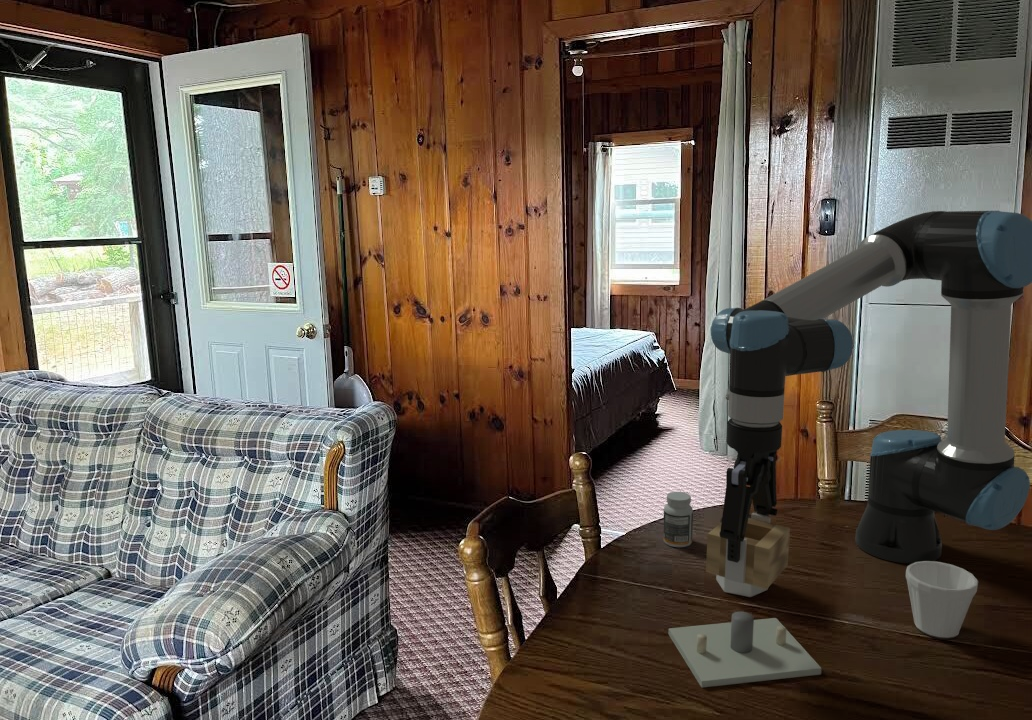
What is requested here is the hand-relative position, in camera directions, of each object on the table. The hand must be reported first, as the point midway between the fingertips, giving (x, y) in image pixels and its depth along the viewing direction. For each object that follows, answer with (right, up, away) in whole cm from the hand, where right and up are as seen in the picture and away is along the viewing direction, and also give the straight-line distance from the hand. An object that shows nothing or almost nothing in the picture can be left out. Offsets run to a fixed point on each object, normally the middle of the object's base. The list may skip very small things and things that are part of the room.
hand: (747, 567), depth 115 cm
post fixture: (0, -14, +3) cm, 14 cm away
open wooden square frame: (0, 0, 0) cm, 0 cm away
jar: (+6, -10, +23) cm, 26 cm away
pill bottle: (-2, -6, +41) cm, 42 cm away
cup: (+32, -12, +8) cm, 36 cm away
